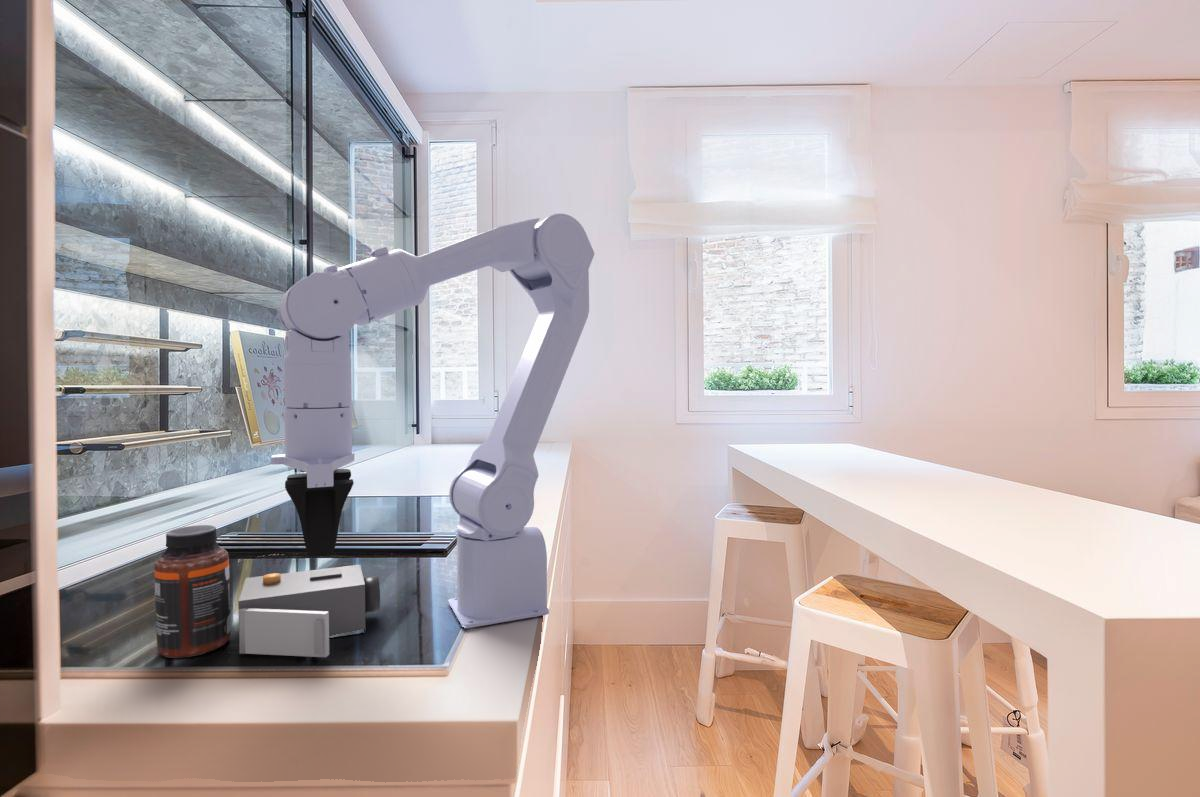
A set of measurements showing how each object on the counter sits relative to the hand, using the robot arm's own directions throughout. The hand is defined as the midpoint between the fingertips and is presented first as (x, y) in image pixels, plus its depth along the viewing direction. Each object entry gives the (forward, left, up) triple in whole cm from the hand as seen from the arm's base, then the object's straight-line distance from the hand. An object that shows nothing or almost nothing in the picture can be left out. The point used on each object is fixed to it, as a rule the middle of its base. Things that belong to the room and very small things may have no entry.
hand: (320, 550), depth 58 cm
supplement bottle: (+11, -5, -10) cm, 16 cm away
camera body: (+2, -5, -9) cm, 11 cm away
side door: (+3, +1, -9) cm, 10 cm away
